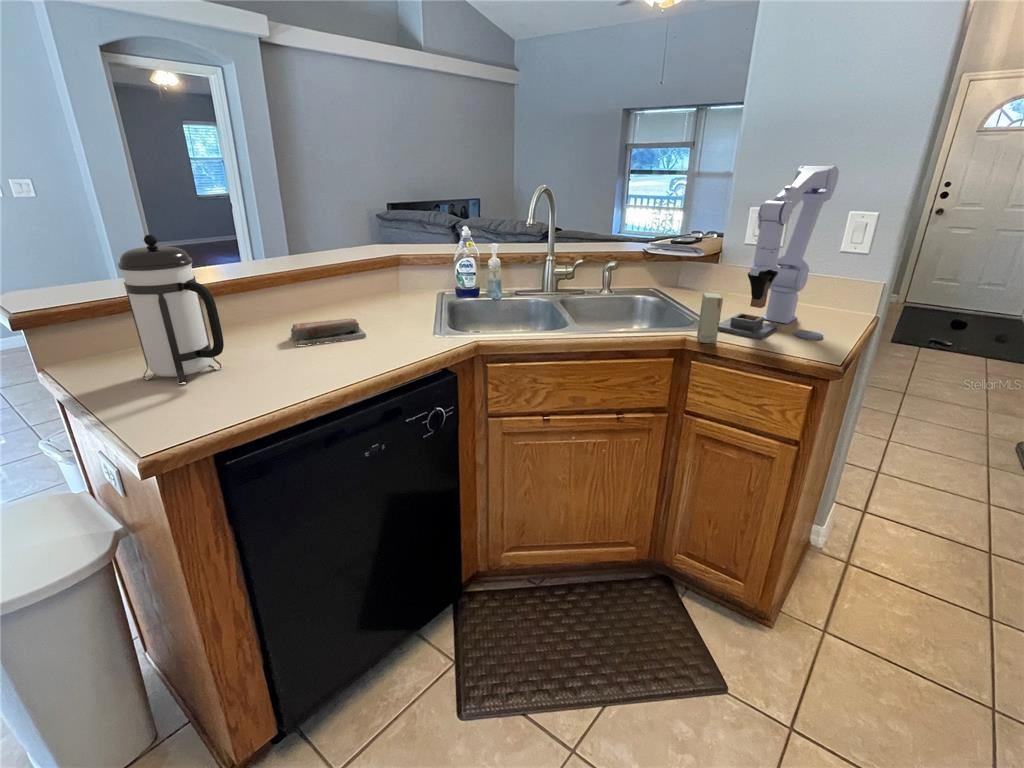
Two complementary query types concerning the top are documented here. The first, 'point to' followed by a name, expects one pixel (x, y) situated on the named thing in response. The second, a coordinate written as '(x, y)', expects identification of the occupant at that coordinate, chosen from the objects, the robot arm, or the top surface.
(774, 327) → the grey square socket base
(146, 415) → the top surface
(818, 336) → the coaster
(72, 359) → the top surface
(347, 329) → the packaged product
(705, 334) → the skincare box
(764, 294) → the brown wooden block
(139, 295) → the coffee press
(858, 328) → the top surface
